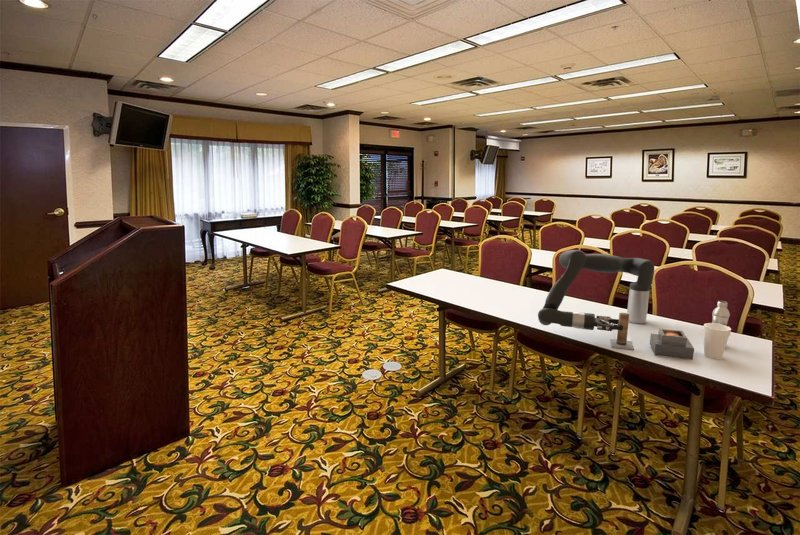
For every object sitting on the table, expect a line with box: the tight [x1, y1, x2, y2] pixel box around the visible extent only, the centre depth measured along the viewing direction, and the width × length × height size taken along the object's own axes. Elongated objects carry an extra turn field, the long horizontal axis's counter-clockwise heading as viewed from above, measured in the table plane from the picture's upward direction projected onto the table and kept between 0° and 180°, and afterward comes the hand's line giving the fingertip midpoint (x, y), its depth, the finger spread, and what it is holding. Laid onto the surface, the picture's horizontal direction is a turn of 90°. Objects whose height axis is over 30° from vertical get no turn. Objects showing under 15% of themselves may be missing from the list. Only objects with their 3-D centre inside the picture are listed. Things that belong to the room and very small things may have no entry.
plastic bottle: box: [711, 300, 731, 326], centre depth 200 cm, size 6×7×20 cm
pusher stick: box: [616, 312, 630, 345], centre depth 200 cm, size 4×4×14 cm
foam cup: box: [702, 322, 732, 360], centre depth 187 cm, size 10×9×13 cm
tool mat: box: [609, 338, 635, 351], centre depth 201 cm, size 10×9×1 cm
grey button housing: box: [649, 328, 695, 361], centre depth 193 cm, size 14×14×8 cm
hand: (621, 325), depth 200 cm, fingers open, 8 cm apart
